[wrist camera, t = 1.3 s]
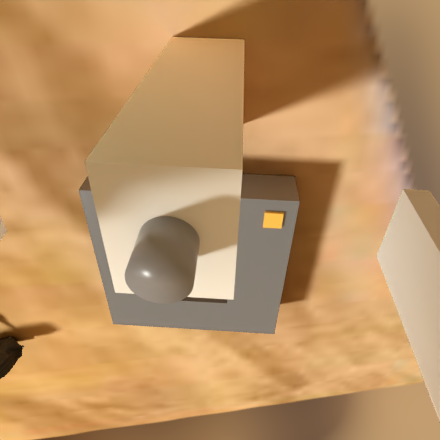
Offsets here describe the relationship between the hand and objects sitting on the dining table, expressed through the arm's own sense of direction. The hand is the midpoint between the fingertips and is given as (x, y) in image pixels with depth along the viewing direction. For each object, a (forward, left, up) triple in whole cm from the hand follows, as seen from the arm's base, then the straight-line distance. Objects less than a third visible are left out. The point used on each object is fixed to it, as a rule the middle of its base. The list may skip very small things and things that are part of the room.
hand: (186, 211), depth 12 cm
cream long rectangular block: (0, 0, -13) cm, 13 cm away
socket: (-1, -13, -13) cm, 18 cm away
